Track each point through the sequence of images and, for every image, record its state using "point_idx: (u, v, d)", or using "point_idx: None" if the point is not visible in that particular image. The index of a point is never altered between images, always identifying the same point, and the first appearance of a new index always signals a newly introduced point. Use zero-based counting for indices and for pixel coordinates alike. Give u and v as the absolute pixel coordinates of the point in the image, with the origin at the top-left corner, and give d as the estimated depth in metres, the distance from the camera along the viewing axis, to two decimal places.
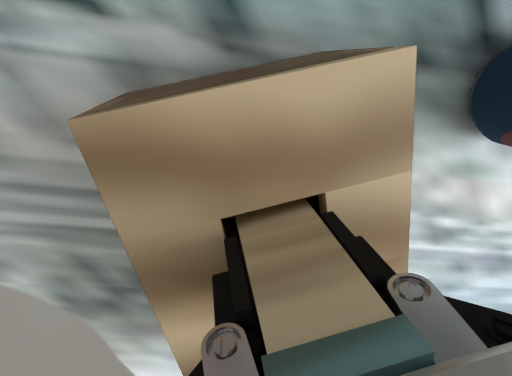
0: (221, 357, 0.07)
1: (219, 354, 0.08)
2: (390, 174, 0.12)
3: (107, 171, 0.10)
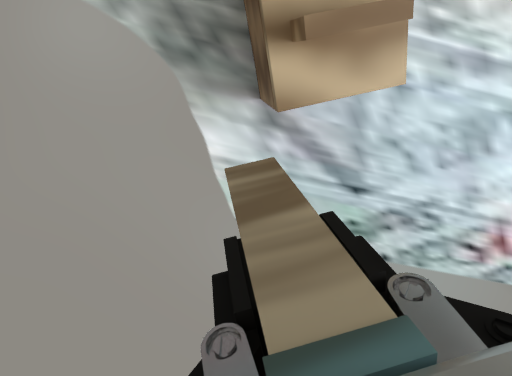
0: (221, 357, 0.07)
1: (219, 354, 0.08)
2: None
3: None
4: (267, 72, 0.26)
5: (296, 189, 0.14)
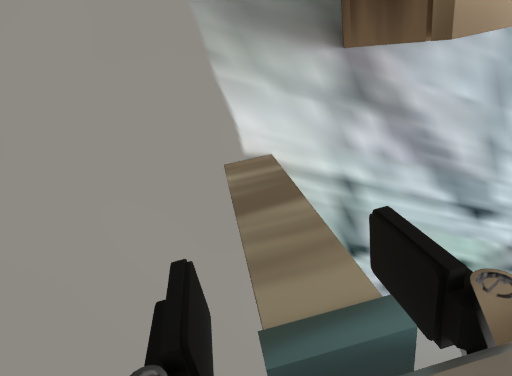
0: None
1: None
2: None
3: None
4: None
5: (292, 184, 0.15)
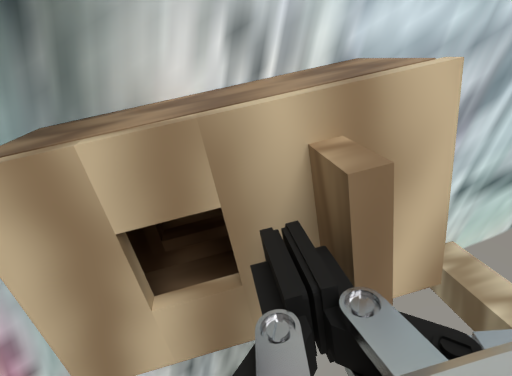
0: (273, 341, 0.08)
1: (272, 338, 0.08)
2: (83, 171, 0.11)
3: (115, 373, 0.15)
4: None
5: (467, 290, 0.22)
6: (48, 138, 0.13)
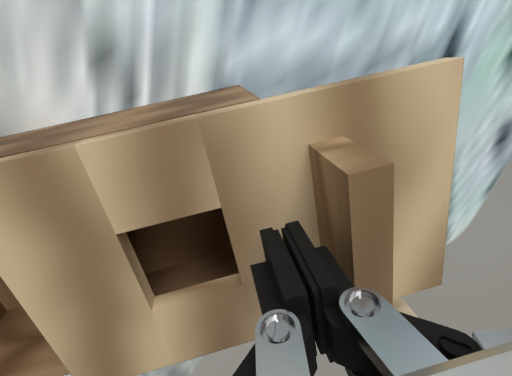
0: (274, 341, 0.08)
1: (272, 338, 0.08)
2: (84, 171, 0.11)
3: (116, 373, 0.15)
4: None
5: None
6: None
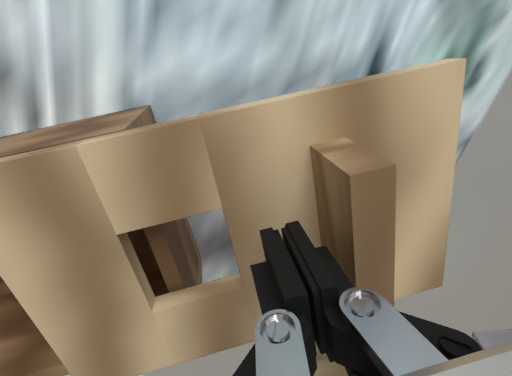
0: (273, 341, 0.08)
1: (272, 338, 0.08)
2: (85, 171, 0.11)
3: (116, 374, 0.15)
4: None
5: None
6: None
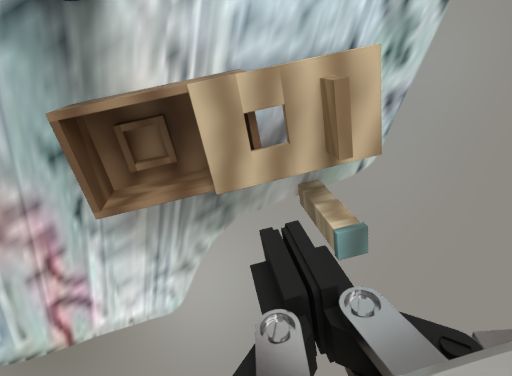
0: (273, 341, 0.08)
1: (272, 338, 0.08)
2: (236, 84, 0.29)
3: (231, 186, 0.34)
4: None
5: (309, 199, 0.40)
6: (81, 105, 0.31)
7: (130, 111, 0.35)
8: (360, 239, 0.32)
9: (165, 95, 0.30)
